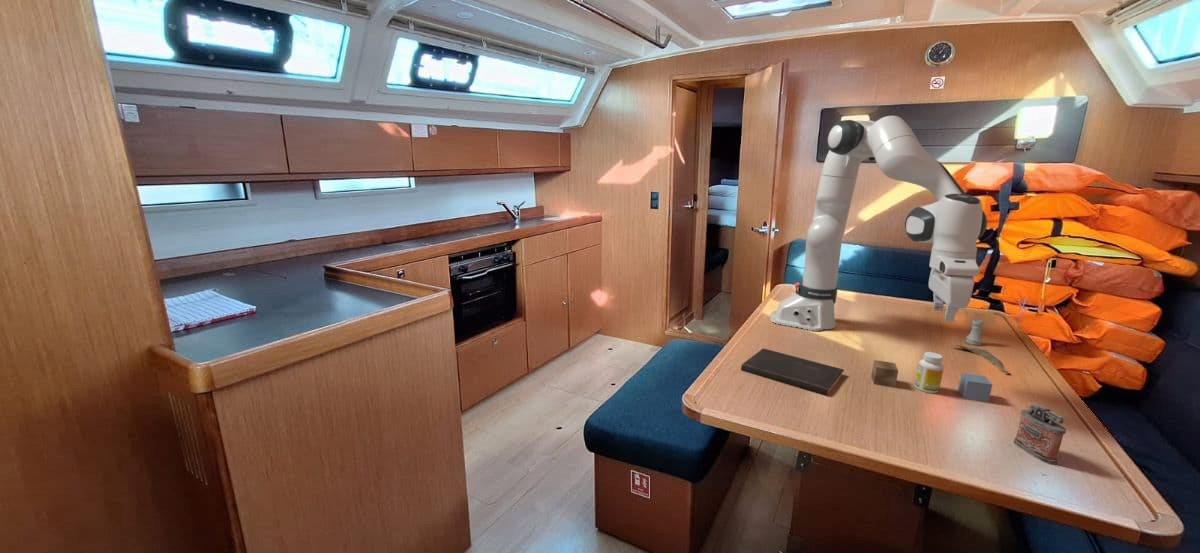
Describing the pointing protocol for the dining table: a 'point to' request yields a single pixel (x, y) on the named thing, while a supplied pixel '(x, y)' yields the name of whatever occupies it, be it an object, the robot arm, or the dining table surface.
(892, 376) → the walnut block
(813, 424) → the dining table surface
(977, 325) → the rook chess piece
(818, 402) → the dining table surface
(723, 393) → the dining table surface
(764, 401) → the dining table surface
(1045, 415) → the lighter
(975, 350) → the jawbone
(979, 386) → the slate-blue block
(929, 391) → the supplement bottle
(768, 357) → the hardcover book
